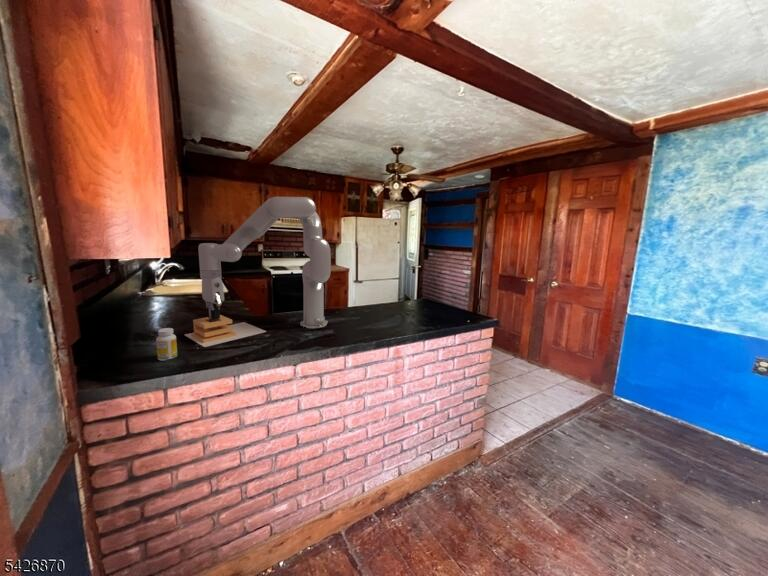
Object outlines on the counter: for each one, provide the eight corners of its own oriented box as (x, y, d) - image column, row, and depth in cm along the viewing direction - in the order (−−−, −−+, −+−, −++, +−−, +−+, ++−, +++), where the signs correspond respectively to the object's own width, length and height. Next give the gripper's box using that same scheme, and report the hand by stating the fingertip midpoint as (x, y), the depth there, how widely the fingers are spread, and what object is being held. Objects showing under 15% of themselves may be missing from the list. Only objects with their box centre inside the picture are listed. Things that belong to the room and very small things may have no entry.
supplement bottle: (160, 362, 104) (157, 333, 102) (155, 357, 108) (153, 329, 106) (180, 357, 108) (177, 330, 107) (174, 353, 112) (172, 326, 110)
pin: (219, 325, 129) (218, 301, 127) (211, 326, 127) (210, 302, 125) (216, 323, 131) (214, 300, 129) (208, 325, 128) (206, 301, 127)
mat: (267, 332, 138) (267, 331, 138) (204, 348, 117) (204, 347, 117) (244, 323, 150) (244, 322, 150) (183, 336, 130) (183, 334, 129)
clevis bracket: (236, 335, 131) (235, 319, 130) (203, 343, 121) (202, 326, 120) (223, 328, 139) (222, 314, 137) (191, 335, 128) (189, 320, 127)
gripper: (230, 275, 123) (232, 320, 126) (211, 271, 133) (214, 312, 136) (210, 277, 117) (213, 324, 120) (192, 272, 127) (195, 315, 130)
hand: (213, 317), depth 128 cm, fingers closed on pin, 3 cm apart
